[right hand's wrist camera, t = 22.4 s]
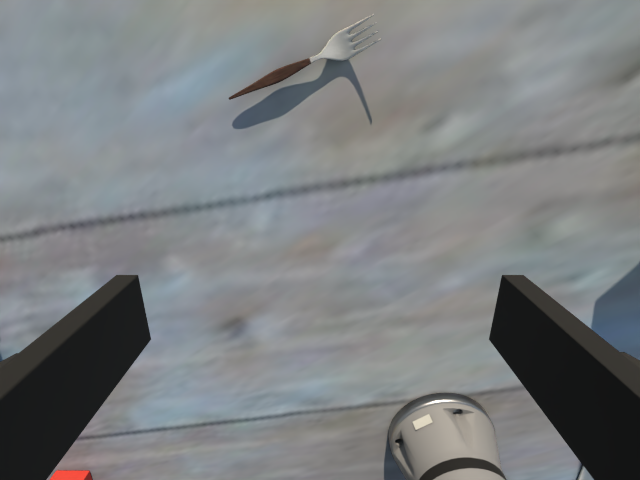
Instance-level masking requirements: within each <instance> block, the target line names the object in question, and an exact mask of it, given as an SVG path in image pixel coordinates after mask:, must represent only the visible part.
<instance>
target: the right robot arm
mask: <svg viewBox="0 0 640 480" xmlns="http://www.w3.org/2000/svg"><path fill="white" fill-rule="evenodd" d="M150 340H151V337H150V332H149V327H148V323H147V318H146V313H145V308H144V303H143V298H142V293H141V288H140V283H139V278H138V275H116V276H115V277H114V278H112V279H111V280H110V281H109V282H107V283H106V284H105V285H104V286H102V287H101V288H100V289H99V290H97V291H96V292H95V293H94V294H92V295H91V296H90V297H89V298H87V299H86V300H85V301H84V302H82V303H81V304H80V305H79V306H77V307H76V308H75V309H74V310H72V311H71V312H70V313H69V314H67V315H66V316H65V317H64V318H62V319H61V320H60V321H59V322H57V323H56V324H55V325H54V326H52V327H51V328H50V329H49V330H47V331H46V332H45V333H44V334H42V335H41V336H40V337H39V338H37V339H36V340H35V341H34V342H32V343H31V344H30V345H29V346H27V347H26V348H25V349H24V350H22V351H21V352H20V353H16V354H14V355H12V356H11V357H9V358H7V359H5V360H3V361H1V362H0V480H46V479H47V478H48V477H49V475H50V474H51V472H52V471H53V470H54V468H55V467H56V466H57V464H58V463H59V462H60V460H61V459H62V458H63V456H64V455H65V454H66V452H67V451H68V450H69V448H70V447H71V446H72V444H73V443H74V442H75V440H76V439H77V438H78V436H79V435H80V434H81V432H82V431H83V430H84V428H85V427H86V426H87V424H88V423H89V422H90V420H91V419H92V418H93V416H94V415H95V414H96V412H97V411H98V409H99V408H100V407H101V405H102V404H103V403H104V401H105V400H106V399H107V397H108V396H109V395H110V393H111V392H112V391H113V389H114V388H115V387H116V385H117V384H118V383H119V381H120V380H121V379H122V377H123V376H124V375H125V373H126V372H127V371H128V369H129V368H130V367H131V365H132V364H133V363H134V361H135V360H136V359H137V357H138V356H139V355H140V353H141V352H142V351H143V349H144V348H145V347H146V345H147V344H148V342H149V341H150ZM489 340H490V341H491V342H492V344H493V345H494V347H495V348H496V349H497V351H498V352H499V353H500V355H501V356H502V357H503V359H504V360H505V361H506V363H507V364H508V365H509V367H510V368H511V369H512V371H513V372H514V373H515V375H516V376H517V377H518V379H519V380H520V381H521V383H522V384H523V385H524V387H525V388H526V389H527V391H528V392H529V393H530V395H531V396H532V397H533V399H534V400H535V401H536V403H537V404H538V405H539V407H540V408H541V409H542V411H543V412H544V414H545V415H546V416H547V418H548V419H549V420H550V422H551V423H552V424H553V426H554V427H555V428H556V430H557V431H558V432H559V434H560V435H561V436H562V438H563V439H564V440H565V442H566V443H567V444H568V446H569V447H570V448H571V450H572V451H573V452H574V454H575V455H576V456H577V458H578V459H579V460H580V462H581V463H582V464H583V466H584V467H585V468H586V470H587V471H588V472H589V474H590V475H591V477H592V478H593V479H594V480H640V360H638V359H636V358H634V357H632V356H630V355H628V354H627V353H625V352H619V351H618V350H616V349H615V348H614V347H613V346H611V345H610V344H609V343H608V342H606V341H605V340H604V339H603V338H601V337H600V336H599V335H598V334H596V333H595V332H594V331H593V330H591V329H590V328H589V327H588V326H586V325H585V324H584V323H583V322H581V321H580V320H579V319H578V318H576V317H575V316H574V315H573V314H571V313H570V312H569V311H568V310H566V309H565V308H564V307H563V306H561V305H560V304H559V303H558V302H556V301H555V300H554V299H553V298H551V297H550V296H549V295H548V294H546V293H545V292H544V291H543V290H541V289H540V288H539V287H538V286H536V285H535V284H534V283H533V282H531V281H530V280H529V279H528V278H526V277H525V276H524V275H502V278H501V283H500V288H499V293H498V298H497V303H496V308H495V313H494V318H493V323H492V327H491V332H490V337H489ZM388 438H389V444H390V449H391V453H392V456H393V458H394V460H395V461H396V463H397V465H398V467H399V468H400V470H401V472H402V473H403V475H404V477H405V478H406V480H506V478H505V476H504V474H503V472H502V470H501V464H500V458H499V452H498V446H497V440H496V434H495V429H494V426H493V424H492V422H491V420H490V418H489V416H488V415H487V413H486V411H485V410H484V409H483V407H482V406H481V405H480V404H478V403H477V402H476V401H474V400H472V399H471V398H468V397H466V396H463V395H459V394H453V393H437V394H431V395H427V396H423V397H421V398H418V399H416V400H414V401H412V402H410V403H408V404H407V405H406V406H404V407H403V408H402V409H401V410H400V411H399V412H398V413H397V414H396V415H395V417H394V418H393V420H392V422H391V424H390V427H389V432H388Z"/></svg>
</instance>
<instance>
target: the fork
mask: <svg viewBox="0 0 640 480" xmlns="http://www.w3.org/2000/svg"><path fill="white" fill-rule="evenodd" d="M373 15H374V14H372V15H371V16H369V17H367V18H365V19H363V20H361V21H359V22H357V23H355V24H353V25H351V26H349V27H347V28H345V29H343V30H341V31H339V32H337V33H336V34H335V35H334V36H333V37H332V38H331V39H330V40H329V42H328V43H327V45H326V46H325V48H324V49H323V50H322V52H321V53H320V54H318V55H316V56H314V57H311V58H308V59H305V60H302V61H299V62H296V63H293V64H290V65H287V66H284V67H281V68H279V69H277V70H275V71H273V72H271V73H269V74H268V75H266V76H264V77H263V78H261V79H260V80H258V81H256V82H255V83H253V84H252V85H250V86H248V87H246V88H245V89H243V90H241V91H240V92H238V93H236V94H234V95H233V96H231V97H229V100H230V99H233V98H236V97H239V96H241V95H244V94H247V93H249V92H252V91H255V90H258V89H261V88H264V87H267V86H270V85H273V84H276V83H278V82H281V81H283V80H284V79H286V78H288V77H290V76H291V75H293V74H295V73H296V72H298V71H300V70H301V69H303V68H304V67H306V66H308V65H309V64H311V63H313V62H314V61H316V60H318V59H322V58H326V59H331V60H337V61H344V60H348V59H350V58H352V57H353V56H355V55H356V54H358V53H360V52H361V51H363V50H365V49H367V48H368V47H370V46H371V45H373V44H375V43H376V42H378V41H379V40H381V38H380V39H379V40H377V41H374V42H372V43H370V44H368V45H366V46H364V47H361V48H359V49H356V50H355V49H354V48H355V46H357V45H358V44H360V43H361V42H363V41H365V40H366V39H368V38H369V37H371V36H372V35H374V34H375V33H377V32H378V31H376V32H374V33H372V34H370V35H368V36H366V37H364V38H362V39H360V40H358V41H355V42H352V39H353V38H355V37H356V36H358V35H359V34H361V33H362V32H364V31H365V30H367V29H368V28H370V27H371V26H373V25H374V24H376V23H374V24H372V25H370V26H368V27H366V28H364V29H362V30H360V31H358V32H356V33H353V34H349V32H350V31H351V30H353V29H354V28H356V27H357V26H359V25H360V24H362V23H363V22H364V21H366V20H367V19H369V18H370V17H372V16H373Z"/></svg>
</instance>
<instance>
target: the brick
mask: <svg viewBox="0 0 640 480" xmlns="http://www.w3.org/2000/svg"><path fill="white" fill-rule="evenodd" d="M50 480H92V477H91V474H90V471H56V472H55V473H54V475H53V476H52V477H51V479H50Z"/></svg>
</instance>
